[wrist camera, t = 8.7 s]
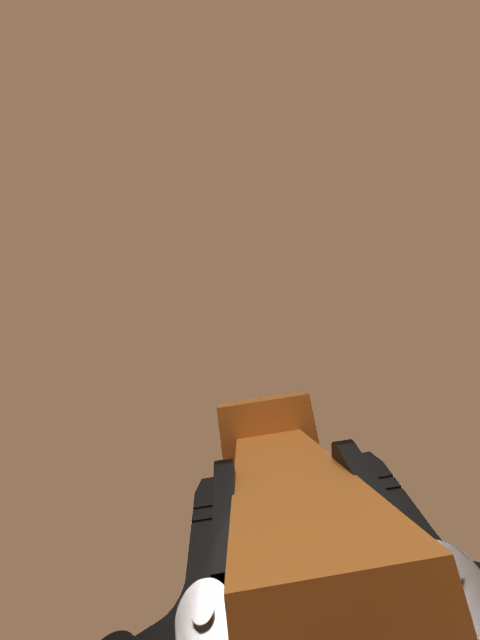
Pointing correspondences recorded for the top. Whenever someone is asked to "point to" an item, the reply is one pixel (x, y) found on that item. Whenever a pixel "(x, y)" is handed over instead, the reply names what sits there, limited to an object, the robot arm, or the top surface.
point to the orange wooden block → (324, 542)
